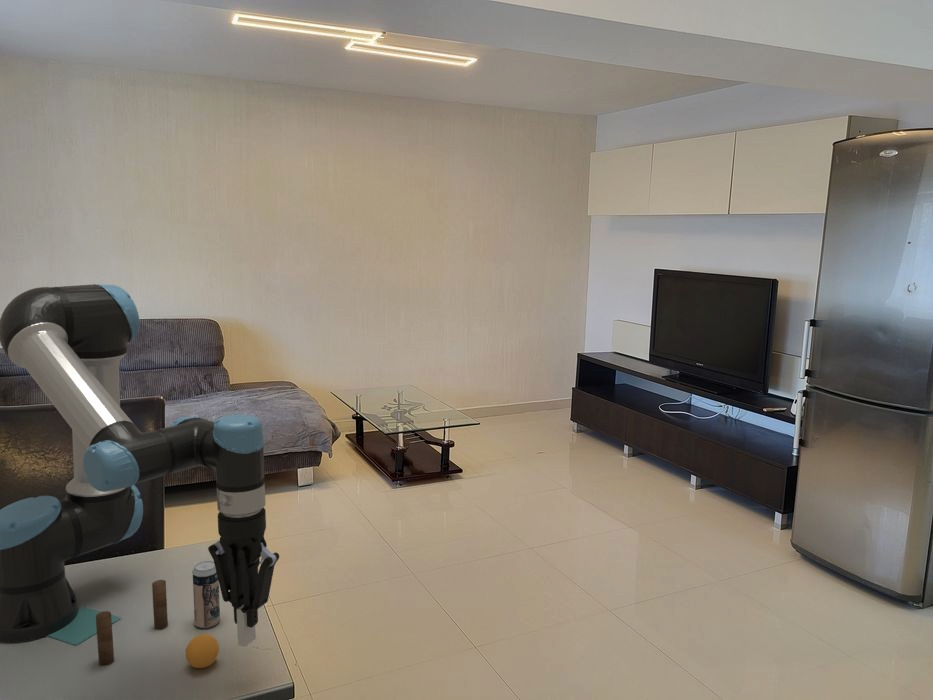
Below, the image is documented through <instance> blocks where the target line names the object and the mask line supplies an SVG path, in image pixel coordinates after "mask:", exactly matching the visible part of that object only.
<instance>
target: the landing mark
mask: <svg viewBox="0 0 933 700" xmlns="http://www.w3.org/2000/svg"><path fill="white" fill-rule="evenodd" d="M100 612H102V611H100V610H97V609H94V608H91V607H87V606H82V607H81V608H78V614H77V616H76V618H75V619H74V620H73V621H72V622H71V623H70V624H68V625H67V626H65V627H64V628H62V629H60V630H59V631H57V632H54V633H52V634H50V635H47V636H46V637H48V638H51V639H54V640H57V641H61V642H64V643H67V644H70V645H72V646H75V647H77V646H79V645H80V644H82V643H83V642H85V641H87V640H88V639H90V638H91V637H93V636H95V635H97V628H96V615H97V614H98V613H100ZM111 619H112V625H113V624H115V623H117V622H118V621H121V619H122V617H121V616H117V615H113V614H111Z"/></svg>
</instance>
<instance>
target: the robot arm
mask: <svg viewBox="0 0 933 700" xmlns="http://www.w3.org/2000/svg"><path fill="white" fill-rule="evenodd" d="M137 308H138V307H137V306H136V303H135V301H134V300H133V299H132V297H131V296H130V294H129V293H128V292H127V291H126V290H125V289H124V288H122V287H121V286H118V285H115V284H113V285H112V284H99V283H97V284H96V283H94V284H82V285H81V284H80V285H67V286H66V285H65V286H63V285H62V286H53V287H52V286H51V287H49V286H41V287H35V288H32V289H28V290H26V291H24V292H22V293H20V294H18V295H17V296H15V297H14V298H13V299H12V300H11V301H9V303H8V304H7V305H6V307H5V308H4V309H3V312H2V314H1V317H0V346H1V347H2V350H3V352H4V353H5V355H6V356H7V357H8V359H9V360H10V361H11V363H13V364H14V365H15V366H17V367H19V368H22V369H25V370H26V372H27V373H28V374H29V375H30V376H31V378H32V379H33V380H34V381H35V383H36V384H37V385H38V387H39V388H40V389H41V390H42V391H43V393H44V395H45V397H47V398H48V400H49V401H50V403H51V404H52V405H53V406H54V407H55V409H56V411H58V413H59V414H60V415H61V416H62V418H63V419H64V421H66V423H67V424H68V426H69V427H70V428H71V429H72V430H71V433H72V459H73V461H72V462H73V478H72V479H71V480H70V481H69V482H67V484H66V486H65V498H64V499H60V500H59V499H58V498H57V497H55V496H51V495H38V496H37V497H33V496H32V497H27V498H23V499H21V500H17V501H15V502H13V503H10V504H8V505H6V506H4V507H3V508H1V509H0V642H1V643H22V642H28V641H34V640H37V639H38V640H39V639H40V638H43V637H48V636H47V635H50V634H52V633H54V632H57V631H59V630H60V629H62V628H64V627H65V626H67V625H68V624H70V623H71V622H72V621H73V620H74V619H75V618H76V616H77V614H78V610H79V606H78V605H79V604H78V598H77V596H76V595H75V592H74V590H73V588H72V587H71V584H70V583H69V580H68V577H66V567H65V562H66V561H68V560H71V559H73V558H77V557H79V556H81V555H82V556H83V555H84V554H88V553H90V552H94V551H97V550H99V549H102V548H104V547H105V548H106V547H108V546H113V545H116V544H118V543H119V542H122V541H123V540H126V539H128V538H130V537H132V536H133V535H134V534H135V533H136V532H138V530H139V528H140V526H141V524H142V521H143V516H144V504H143V499H142V498H141V492H140V490H139V489H138V487H137V486H136V485H137V484H141V483H144V482H147V481H151V480H153V479H158V478H160V477H164V476H168V475H173V474H175V473H179V472H183V471H187V470H190V469H192V468H196V467H203V468H207V469H210V470H214V471H215V481H216V482H215V485H216V486H215V487H216V505H217V511H218V513H217V529H218V531H217V532H218V535H219V536H220V537H219V540H218V541H216V542H214V543H213V544H211V545H209V546H208V547H207V550H208V552H209V554H210V556H211V558H212V560H213V562H214V564H215V568H216V572H217V577H218V581H219V590H220V593H221V597H222V600H223V602H225V603H227V602H229V603H230V604H231V606H232V608H233V621H234V624H235V625H236V627H237V645H238V646H240V647H243V648H246V647H247V646H248V645H249V644H251V643H253V642H254V641H255V640H256V638H257V637H256V625H258V623H259V611H258V610H259V609H260V608H261V607H263V606H264V605H265V604H267V603H268V602H269V598H270V590H271V587H272V582H273V581H272V580H273V576H274V569H275V566H276V565H277V562H278V560H279V559H280V554H279V553H278V552H274V553H272V552H271V550H269V549H268V548H267V541H266V539H265V532H266V528H267V516H266V508H265V506H266V487H265V486H266V485H265V455H264V453H265V452H264V449H265V448H264V446H265V439H264V436H263V433H264V432H263V425H262V421H261V419H260V418H259V417H257V415H252V414H240V413H239V414H229V415H225V416H220V417H219V418H217V419H216V420H215V421H212V420H208V419H206V418H204V417H199V416H198V417H197V416H183V417H179V418H177V419H176V420H175V421H174V422H172V423H171V424H170V425H169V426H168V427H164V428H160V429H154V430H151V431H150V430H149V431H145V432H142V431H140V429H139V428H138V426H136V425H135V424H134V422H133V421H132V419H130V417H128V415H127V414H126V413H125V412H124V410H123V409H122V408H121V400H120V399H121V395H120V394H121V393H120V361H121V360H122V359H123V358H124V357H125V356H126V355H128V346H127V345H128V343H132V342H133V341H135V340H136V338H137V337H138V334H139V332H140V329H141V327H140V326H141V325H140V324H141V323H140V321H141V320H140V316H139V311H138V309H137ZM260 557H261V559H260Z"/></svg>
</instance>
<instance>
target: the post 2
mask: <svg viewBox="0 0 933 700" xmlns="http://www.w3.org/2000/svg"><path fill="white" fill-rule="evenodd" d="M166 582H167V581H166V580H164V579H158V580H155V581H153V582H152V583H151V590H152V608H153V609H152V610H153V626H154V629H155V630H157V631H158V630H160V631H161V630H164V629H166V628H167V627H168V626H169V623H168V622H169V621H168V620H169V619H168V605H167V604H168V601H167V598H168V597H167V583H166Z"/></svg>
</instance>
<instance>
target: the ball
mask: <svg viewBox="0 0 933 700" xmlns="http://www.w3.org/2000/svg"><path fill="white" fill-rule="evenodd" d="M219 652H220V646H219V642H218V641H217V639H216V638H215V637H214V636H213V635H210V634H207V633H203V634H197V636H194V637H193V638H192V639H190V640H189V642H188V644H187V646H186V649H185V657H186V661H187V662H188V664H189V665H190V666H192V667H193V668H196V669H204V668H207V667H209V666H211V665H212V664H213V663H214V662H215V661H216V660H217V658H218V655H219Z"/></svg>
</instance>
